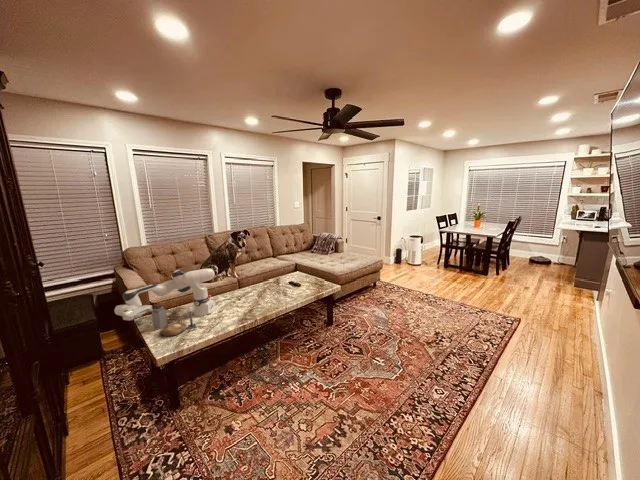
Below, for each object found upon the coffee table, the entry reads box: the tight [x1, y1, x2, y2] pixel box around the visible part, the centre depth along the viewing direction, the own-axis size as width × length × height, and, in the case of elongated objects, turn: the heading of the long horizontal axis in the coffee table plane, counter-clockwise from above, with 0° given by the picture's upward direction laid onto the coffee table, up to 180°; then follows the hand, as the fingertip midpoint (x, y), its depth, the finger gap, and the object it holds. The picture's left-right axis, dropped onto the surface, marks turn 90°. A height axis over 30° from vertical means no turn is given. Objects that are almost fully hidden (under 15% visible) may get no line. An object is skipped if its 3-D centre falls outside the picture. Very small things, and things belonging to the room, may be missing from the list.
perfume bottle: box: [151, 303, 169, 330], centre depth 204 cm, size 7×7×18 cm
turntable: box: [161, 321, 187, 337], centre depth 198 cm, size 16×16×3 cm
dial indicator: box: [186, 305, 196, 330], centre depth 203 cm, size 5×5×17 cm
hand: (146, 313), depth 207 cm, fingers open, 8 cm apart
